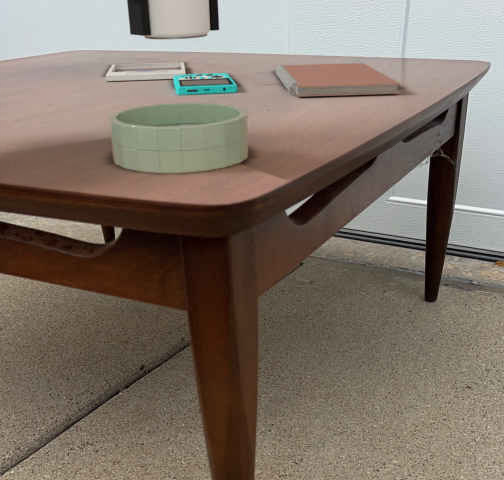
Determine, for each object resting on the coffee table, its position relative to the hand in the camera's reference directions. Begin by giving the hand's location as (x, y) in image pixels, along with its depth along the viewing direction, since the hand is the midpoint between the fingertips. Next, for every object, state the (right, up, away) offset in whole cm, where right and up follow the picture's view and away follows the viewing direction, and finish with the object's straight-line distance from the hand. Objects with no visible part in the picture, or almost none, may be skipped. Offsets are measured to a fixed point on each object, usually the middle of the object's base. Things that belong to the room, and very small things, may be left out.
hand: (175, 31), depth 64 cm
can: (0, -1, 0) cm, 1 cm away
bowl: (0, -11, +5) cm, 13 cm away
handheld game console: (-1, +11, +54) cm, 55 cm away
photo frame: (-13, +19, +70) cm, 74 cm away
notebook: (+21, +12, +54) cm, 59 cm away
